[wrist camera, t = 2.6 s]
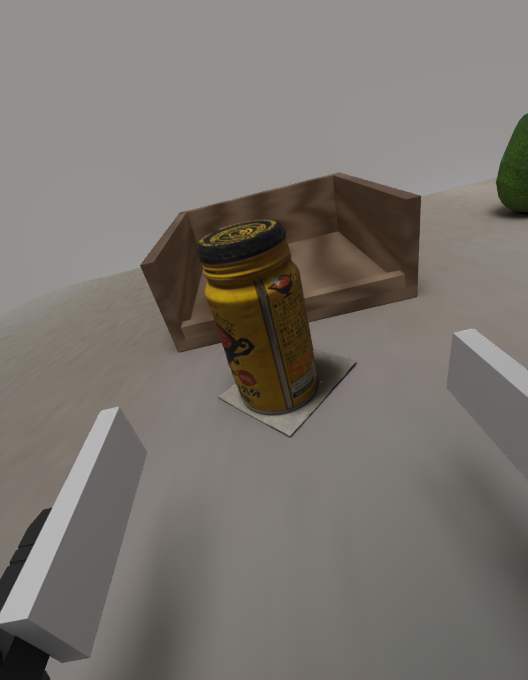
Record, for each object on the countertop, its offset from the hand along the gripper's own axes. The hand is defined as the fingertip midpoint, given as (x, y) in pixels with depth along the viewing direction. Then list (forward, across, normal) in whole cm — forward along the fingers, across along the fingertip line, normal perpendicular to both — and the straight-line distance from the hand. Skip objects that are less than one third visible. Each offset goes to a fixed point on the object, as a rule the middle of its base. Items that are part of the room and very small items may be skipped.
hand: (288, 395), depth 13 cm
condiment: (+10, 0, -8) cm, 12 cm away
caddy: (+30, +2, -7) cm, 31 cm away
